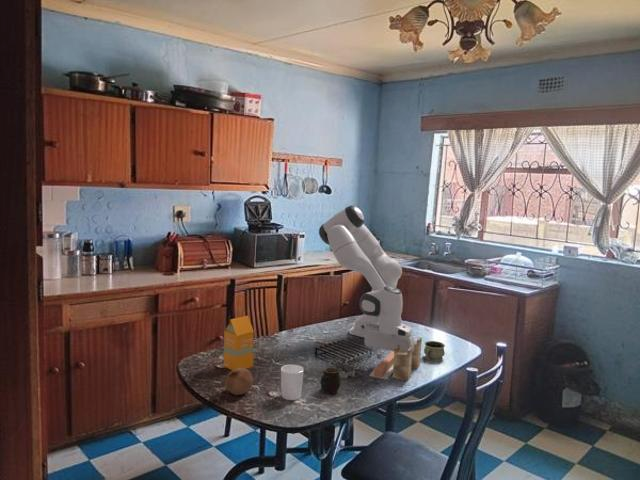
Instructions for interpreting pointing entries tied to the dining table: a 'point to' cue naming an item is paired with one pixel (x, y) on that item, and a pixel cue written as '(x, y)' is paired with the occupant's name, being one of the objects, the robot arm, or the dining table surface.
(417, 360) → the post far
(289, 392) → the white cup
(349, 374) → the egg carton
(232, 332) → the orange juice
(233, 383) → the onion
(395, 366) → the post near
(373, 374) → the mat
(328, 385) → the mate gourd
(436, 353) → the vessel
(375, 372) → the rail
